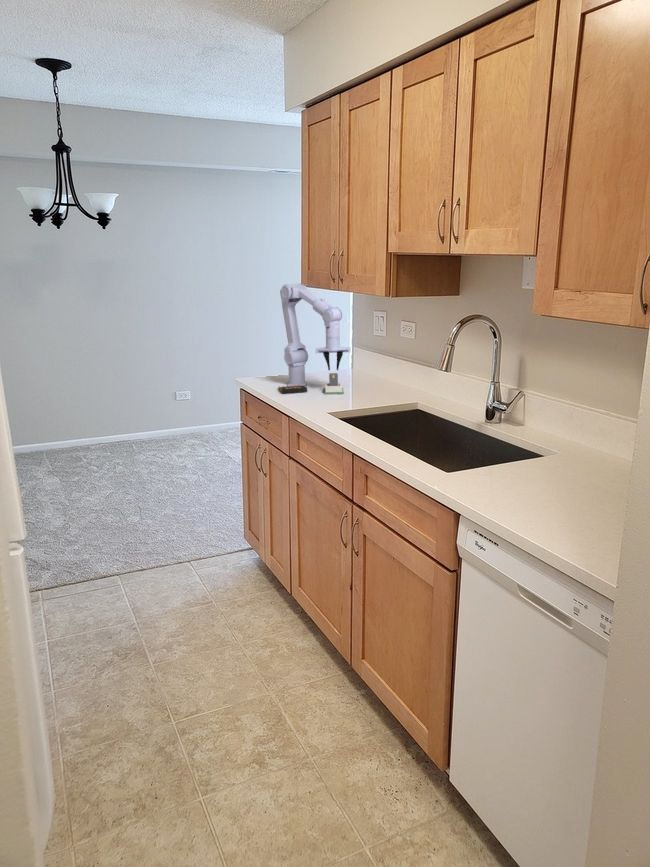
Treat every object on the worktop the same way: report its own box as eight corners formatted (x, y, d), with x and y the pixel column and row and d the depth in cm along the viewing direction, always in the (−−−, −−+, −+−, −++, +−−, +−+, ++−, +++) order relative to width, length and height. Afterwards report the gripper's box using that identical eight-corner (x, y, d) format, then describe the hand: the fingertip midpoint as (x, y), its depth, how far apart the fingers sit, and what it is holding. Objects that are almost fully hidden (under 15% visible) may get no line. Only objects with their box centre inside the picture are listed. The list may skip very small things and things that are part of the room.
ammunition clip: (307, 391, 280) (300, 387, 292) (307, 387, 280) (300, 383, 291) (282, 393, 277) (276, 389, 289) (282, 389, 277) (276, 385, 288)
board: (324, 389, 285) (324, 382, 284) (342, 388, 285) (342, 382, 284) (324, 394, 275) (324, 387, 274) (343, 393, 275) (343, 386, 274)
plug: (329, 389, 281) (329, 373, 279) (337, 389, 281) (337, 373, 280) (329, 391, 278) (329, 374, 276) (338, 391, 278) (337, 374, 276)
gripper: (315, 339, 270) (316, 371, 274) (350, 338, 270) (351, 370, 274) (315, 336, 277) (316, 368, 280) (349, 335, 277) (350, 368, 280)
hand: (333, 369), depth 277 cm, fingers open, 3 cm apart
